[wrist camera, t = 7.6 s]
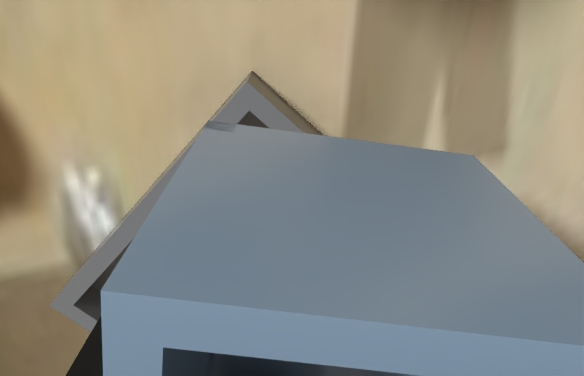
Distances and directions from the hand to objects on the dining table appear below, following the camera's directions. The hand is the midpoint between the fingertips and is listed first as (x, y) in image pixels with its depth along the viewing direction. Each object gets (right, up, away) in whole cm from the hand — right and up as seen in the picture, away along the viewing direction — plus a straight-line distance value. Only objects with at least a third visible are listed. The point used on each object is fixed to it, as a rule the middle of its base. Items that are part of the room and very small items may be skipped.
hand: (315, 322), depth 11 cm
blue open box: (0, 0, +1) cm, 1 cm away
